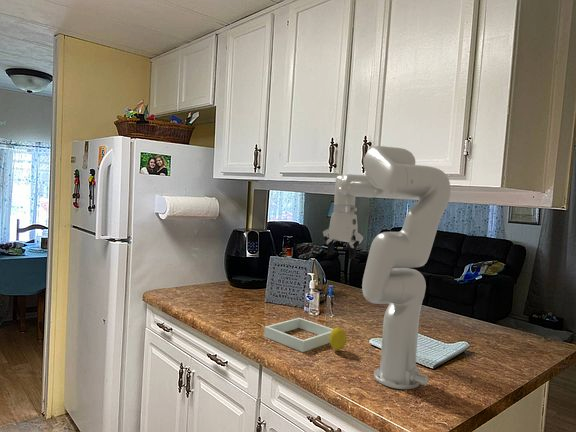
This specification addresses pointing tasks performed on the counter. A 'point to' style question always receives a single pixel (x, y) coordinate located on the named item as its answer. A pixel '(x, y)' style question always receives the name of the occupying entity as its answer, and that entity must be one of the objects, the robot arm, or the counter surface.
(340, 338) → the lemon
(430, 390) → the counter surface
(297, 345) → the pale green square frame
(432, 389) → the counter surface
